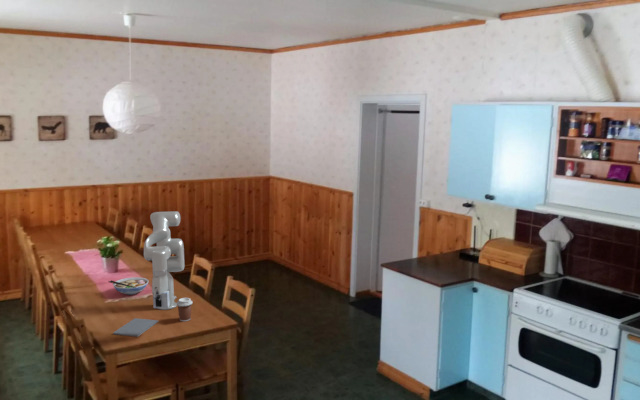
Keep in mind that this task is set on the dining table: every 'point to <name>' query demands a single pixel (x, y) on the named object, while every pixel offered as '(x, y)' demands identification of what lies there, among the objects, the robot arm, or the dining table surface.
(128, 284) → the ramen bowl
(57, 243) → the dining table surface
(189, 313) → the coffee cup
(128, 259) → the dining table surface
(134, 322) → the mat
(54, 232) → the dining table surface
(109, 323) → the dining table surface
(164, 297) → the medicine box
